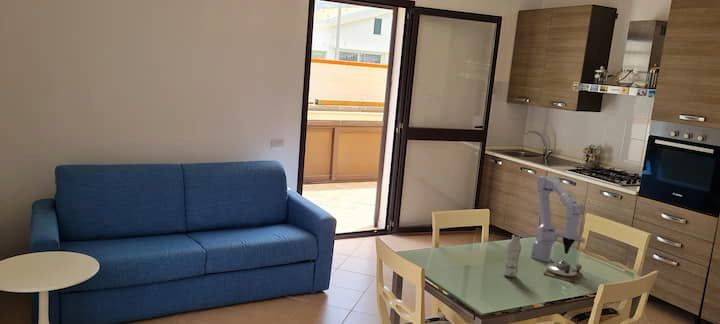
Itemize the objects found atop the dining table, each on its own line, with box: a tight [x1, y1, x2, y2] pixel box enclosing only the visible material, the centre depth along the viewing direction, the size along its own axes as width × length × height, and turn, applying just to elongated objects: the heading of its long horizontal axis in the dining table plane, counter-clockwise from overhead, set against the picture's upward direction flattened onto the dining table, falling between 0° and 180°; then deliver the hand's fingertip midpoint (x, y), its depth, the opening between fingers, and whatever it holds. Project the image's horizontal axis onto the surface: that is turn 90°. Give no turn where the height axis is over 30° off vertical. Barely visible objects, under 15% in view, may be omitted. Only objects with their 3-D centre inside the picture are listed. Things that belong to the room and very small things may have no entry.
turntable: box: [546, 262, 577, 277], centre depth 275 cm, size 14×14×6 cm
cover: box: [556, 259, 569, 270], centre depth 274 cm, size 5×5×4 cm
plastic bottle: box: [502, 234, 522, 278], centre depth 262 cm, size 6×7×20 cm
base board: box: [543, 263, 583, 285], centre depth 274 cm, size 16×16×5 cm
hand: (566, 253), depth 277 cm, fingers closed
